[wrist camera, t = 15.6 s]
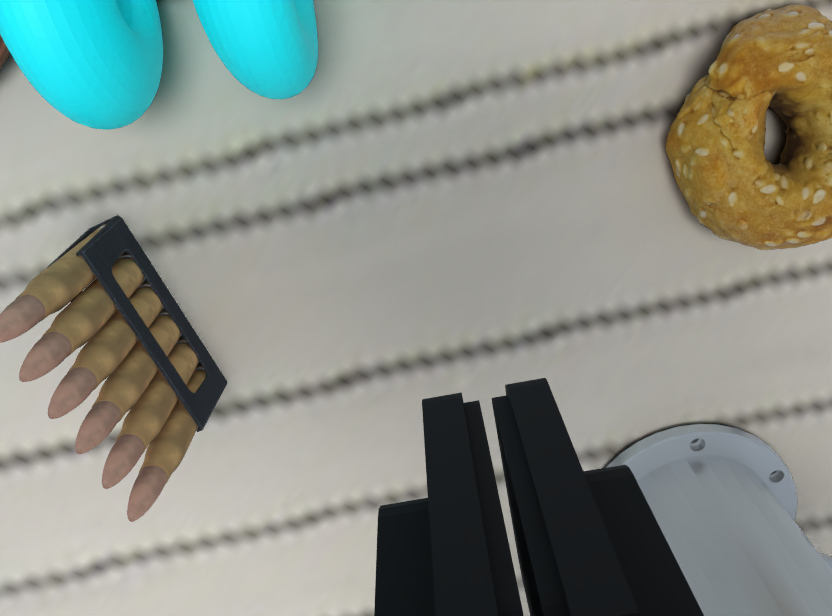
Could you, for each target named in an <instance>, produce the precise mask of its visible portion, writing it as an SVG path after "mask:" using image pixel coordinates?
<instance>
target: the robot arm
mask: <svg viewBox="0 0 832 616" xmlns="http://www.w3.org/2000/svg"><path fill="white" fill-rule="evenodd" d="M505 388H506V396H501V397H495V398H492V404H493V410H494V416H495V422H496V428H497V434H498V440H499V446H500V452H501V458H502V464H503V470H504V476H505V482H506V488H507V494H508V500H509V506H510V512H511V518H512V524H513V530H514V535H515V541H516V547H517V553H518V559H519V564H520V569H521V574H522V579H523V584H524V588H525V593H526V597H527V602H528V607H529V611H530V616H832V557H831V556H828V555H825V554H823V553H820V552H818V551H817V550H816V549H815V547H814V546H813V545H812V543H811V542H810V541H809V540H808V538H807V537H806V536H805V534H804V533H803V532H802V530H801V529H800V528H799V527H798V525H797V524H796V523H795V517H796V510H797V493H796V486H795V483H794V481H793V478H792V475H791V473H790V471H789V470H788V468H787V467H786V465H785V464H784V462H783V461H782V460H781V458H780V457H779V456H778V455H777V454H776V453H775V452H774V451H773V450H772V449H771V447H770V446H769V445H767V444H766V443H765V442H763V441H762V440H760V439H759V438H757V437H756V436H754V435H752V434H750V433H747V432H745V431H742V430H740V429H737V428H733V427H728V426H723V425H717V424H694V425H687V426H679V427H675V428H671V429H668V430H665V431H661V432H658V433H655V434H653V435H651V436H649V437H647V438H645V439H643V440H640V441H638V442H637V443H635V444H634V445H632V446H631V447H629V448H628V449H626V450H625V451H623V452H622V453H621V454H619V455H618V456H617V457H616V458H615V459H614V460H613V461H612V462H611V463H610V464H609V465H608V466H607V467H606V468H602V469H596V470H590V471H584V472H583V470H582V467H581V465H580V462H579V460H578V457H577V455H576V452H575V450H574V447H573V445H572V442H571V440H570V437H569V435H568V432H567V430H566V427H565V425H564V422H563V419H562V417H561V414H560V412H559V409H558V407H557V404H556V402H555V399H554V397H553V394H552V392H551V389H550V387H549V384H548V382H547V380H546V378H542V379H536V380H530V381H525V382H519V383H513V384H508V385H505ZM422 409H423V425H424V441H425V456H426V472H427V488H428V498H424V499H418V500H412V501H406V502H400V503H394V504H388V505H382V506H380V508H379V513H378V533H377V561H376V588H375V616H523V611H522V606H521V601H520V596H519V591H518V586H517V582H516V577H515V572H514V567H513V562H512V557H511V553H510V548H509V543H508V538H507V533H506V528H505V524H504V519H503V514H502V509H501V504H500V499H499V494H498V490H497V485H496V480H495V475H494V470H493V465H492V461H491V456H490V451H489V446H488V441H487V436H486V432H485V427H484V422H483V417H482V412H481V407H480V403H479V400H478V401H473V402H467V403H463V398H462V393H456V394H451V395H445V396H439V397H434V398H428V399H423V400H422Z"/></svg>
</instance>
